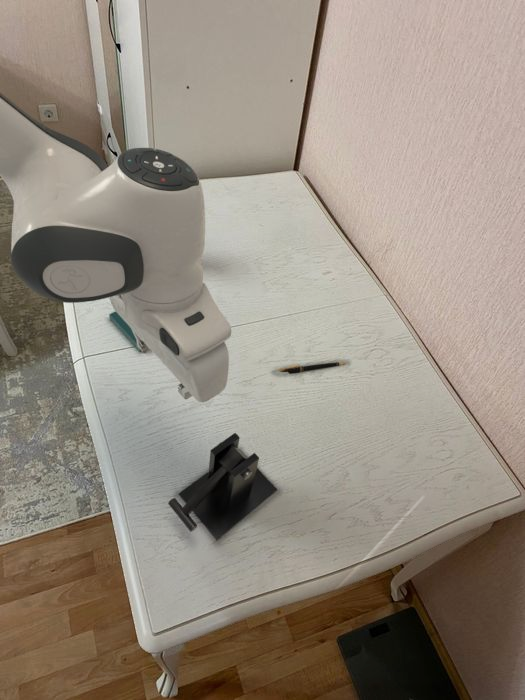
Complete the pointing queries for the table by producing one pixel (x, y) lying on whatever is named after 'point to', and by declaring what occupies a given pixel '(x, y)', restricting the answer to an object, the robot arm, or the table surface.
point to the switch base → (229, 491)
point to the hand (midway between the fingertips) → (165, 370)
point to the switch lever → (207, 487)
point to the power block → (123, 328)
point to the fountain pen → (308, 367)
